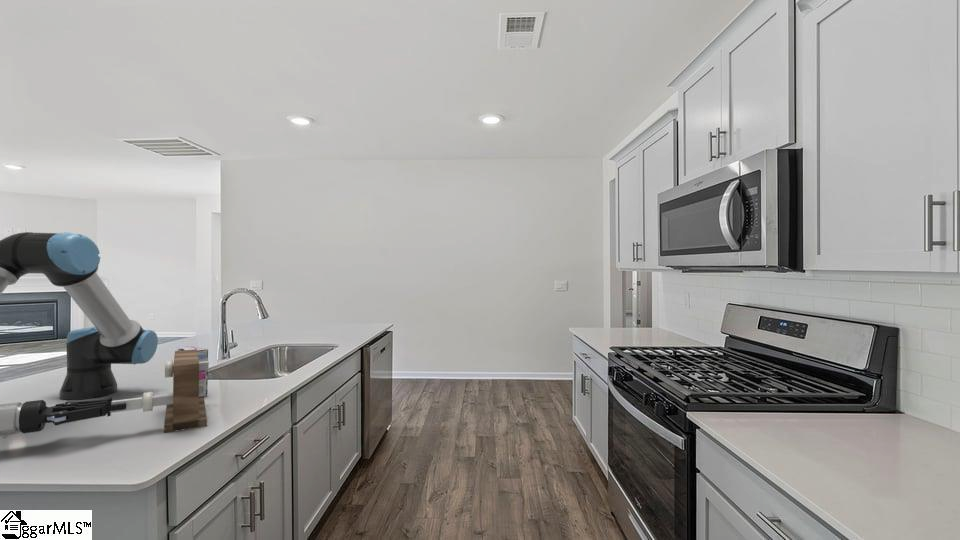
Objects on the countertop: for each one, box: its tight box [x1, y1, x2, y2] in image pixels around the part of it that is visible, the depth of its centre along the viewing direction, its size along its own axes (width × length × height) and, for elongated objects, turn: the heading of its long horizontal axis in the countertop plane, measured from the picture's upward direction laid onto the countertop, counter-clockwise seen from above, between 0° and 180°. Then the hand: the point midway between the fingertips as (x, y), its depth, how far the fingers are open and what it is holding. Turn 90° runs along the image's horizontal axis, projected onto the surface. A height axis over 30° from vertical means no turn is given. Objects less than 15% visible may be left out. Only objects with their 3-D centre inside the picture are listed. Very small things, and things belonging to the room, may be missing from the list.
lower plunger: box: [142, 391, 173, 413], centre depth 126 cm, size 5×12×5 cm, turn 123°
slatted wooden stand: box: [163, 349, 208, 433], centre depth 135 cm, size 24×10×18 cm, turn 33°
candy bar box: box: [177, 346, 209, 398], centre depth 156 cm, size 11×5×16 cm, turn 58°
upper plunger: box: [164, 360, 210, 378], centre depth 143 cm, size 5×12×5 cm, turn 123°
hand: (142, 402), depth 123 cm, fingers closed
